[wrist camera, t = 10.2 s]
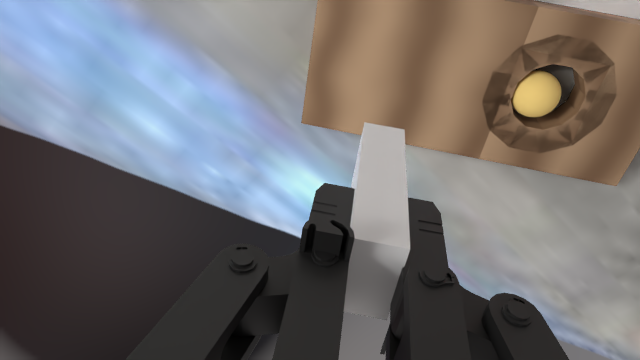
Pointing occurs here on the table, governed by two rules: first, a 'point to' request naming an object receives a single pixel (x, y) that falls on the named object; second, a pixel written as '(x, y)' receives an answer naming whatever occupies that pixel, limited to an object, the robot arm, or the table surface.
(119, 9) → the table surface
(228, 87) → the table surface
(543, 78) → the ball
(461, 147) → the board
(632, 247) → the table surface
